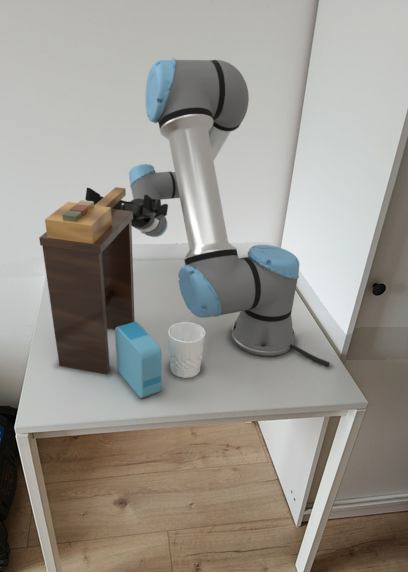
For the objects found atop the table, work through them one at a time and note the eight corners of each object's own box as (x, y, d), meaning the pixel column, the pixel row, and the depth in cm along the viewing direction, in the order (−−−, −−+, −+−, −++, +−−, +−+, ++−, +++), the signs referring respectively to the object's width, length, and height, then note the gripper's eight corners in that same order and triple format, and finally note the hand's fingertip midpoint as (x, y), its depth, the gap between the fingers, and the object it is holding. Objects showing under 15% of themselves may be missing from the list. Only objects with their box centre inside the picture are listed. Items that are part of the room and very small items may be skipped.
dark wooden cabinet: (90, 321, 126) (79, 204, 109) (136, 329, 124) (133, 211, 107) (57, 365, 111) (38, 237, 93) (109, 374, 109) (100, 245, 92)
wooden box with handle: (102, 192, 116) (100, 172, 113) (139, 197, 115) (139, 176, 112) (47, 237, 93) (43, 213, 91) (92, 244, 92) (91, 220, 89)
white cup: (207, 362, 114) (209, 326, 109) (196, 383, 108) (199, 345, 102) (174, 355, 116) (175, 318, 110) (162, 375, 110) (162, 337, 104)
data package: (161, 394, 105) (162, 347, 98) (142, 401, 102) (141, 353, 96) (135, 364, 113) (133, 318, 106) (116, 370, 110) (114, 324, 104)
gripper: (185, 235, 132) (167, 221, 111) (95, 223, 136) (62, 207, 115) (189, 206, 132) (172, 186, 111) (99, 195, 135) (66, 174, 114)
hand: (116, 197), depth 113 cm, fingers open, 13 cm apart
